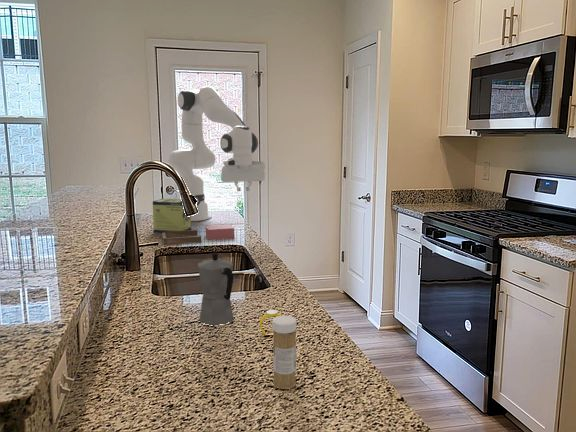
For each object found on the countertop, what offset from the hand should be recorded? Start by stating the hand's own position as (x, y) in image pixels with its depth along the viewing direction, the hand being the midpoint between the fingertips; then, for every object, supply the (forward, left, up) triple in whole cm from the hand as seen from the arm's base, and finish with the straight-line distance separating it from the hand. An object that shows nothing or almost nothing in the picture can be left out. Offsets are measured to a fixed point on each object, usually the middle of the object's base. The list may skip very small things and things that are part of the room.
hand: (243, 191), depth 221 cm
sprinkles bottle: (+135, -22, -21) cm, 138 cm away
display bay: (0, -29, -21) cm, 35 cm away
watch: (+112, -18, -21) cm, 115 cm away
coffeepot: (+100, -29, -21) cm, 106 cm away
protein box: (-20, -32, -21) cm, 43 cm away
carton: (0, -12, -21) cm, 24 cm away
